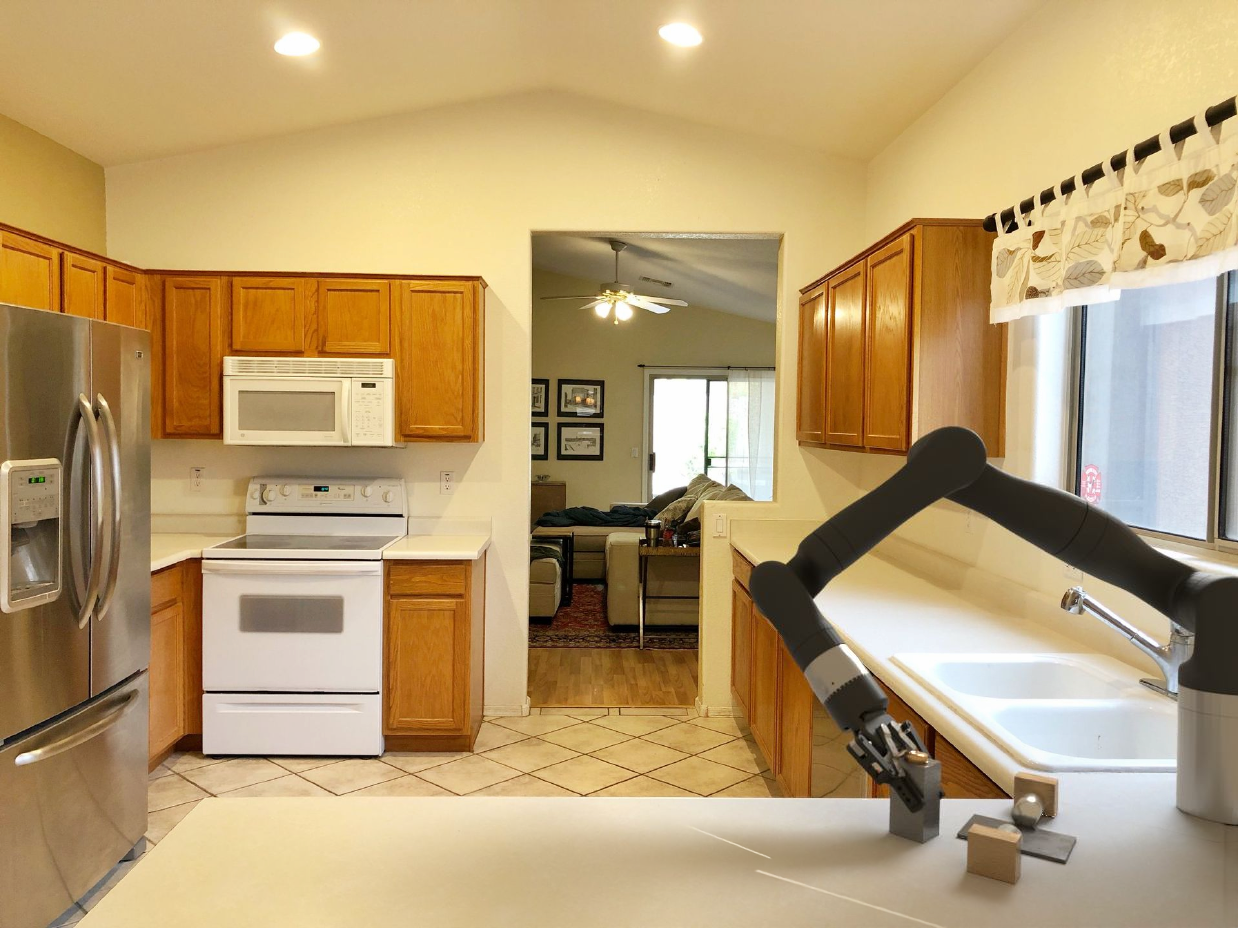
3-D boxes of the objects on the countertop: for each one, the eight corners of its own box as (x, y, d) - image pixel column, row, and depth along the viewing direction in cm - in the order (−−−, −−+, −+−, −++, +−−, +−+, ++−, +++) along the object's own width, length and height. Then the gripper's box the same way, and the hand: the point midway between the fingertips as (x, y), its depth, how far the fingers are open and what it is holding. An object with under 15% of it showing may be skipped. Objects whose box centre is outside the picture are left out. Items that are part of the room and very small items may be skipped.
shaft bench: (991, 797, 122) (991, 765, 122) (1086, 818, 115) (1087, 784, 115) (934, 862, 98) (935, 823, 99) (1050, 893, 92) (1051, 851, 92)
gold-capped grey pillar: (889, 832, 107) (891, 752, 108) (905, 824, 110) (907, 746, 111) (922, 843, 104) (924, 761, 104) (939, 834, 107) (941, 754, 108)
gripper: (835, 677, 108) (924, 801, 99) (890, 665, 118) (976, 776, 109) (797, 711, 112) (880, 834, 103) (854, 696, 122) (934, 807, 113)
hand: (929, 803), depth 106 cm, fingers open, 4 cm apart
